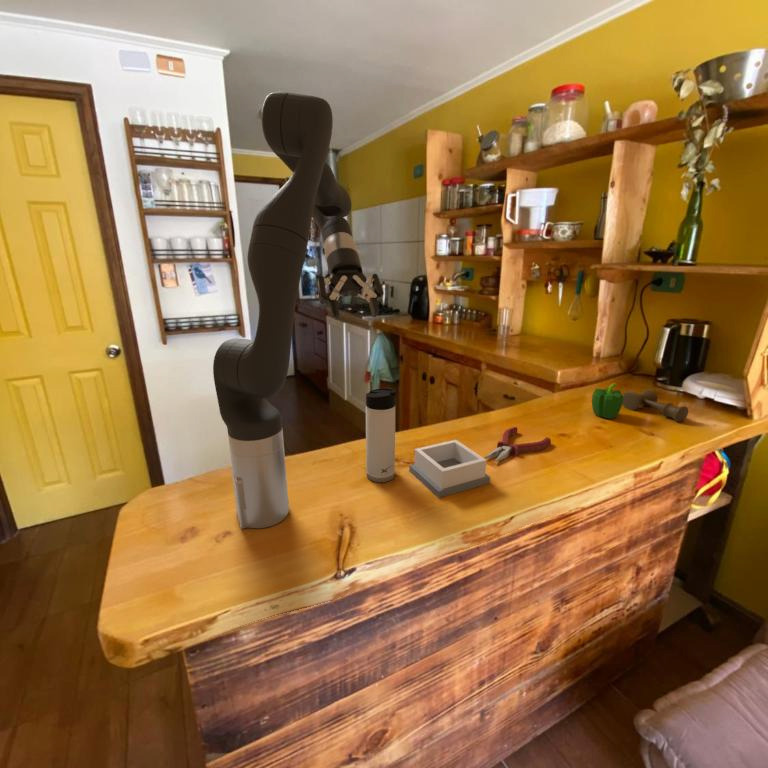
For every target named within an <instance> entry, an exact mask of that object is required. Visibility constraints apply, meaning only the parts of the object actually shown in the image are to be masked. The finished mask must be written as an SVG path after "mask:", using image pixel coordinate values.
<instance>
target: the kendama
mask: <svg viewBox="0 0 768 768" xmlns="http://www.w3.org/2000/svg"><path fill="white" fill-rule="evenodd" d="M621 393H622V395H623V398H624V399H623V404H622V407H624V408H625V409H627V410H630V411H636V410H637V409H638V408H639V407H640V405H643V406H645V407H650V408H651V407H652V408H654V409H655V410H658V411H659V412H660V413H661V415H662V416H663V417H670V418H672V419H673V420H674V421H675V422H676V423H682V422H684V421H685V420H686V418H687V417H688V414H689V408H688V406H683V405H682V406H678V405H675V404H674V403H673V402H668V403H664V402H659V401H658V399H659V398H658V397H659V396H658V393H656V391H654V390H652V389H644V390H643V391H641V393H639V394H638V393H636V392H635V391H633V390H632V391H631V390H629V391H625V392H624V391H623V392H621Z"/></svg>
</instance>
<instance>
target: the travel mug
mask: <svg viewBox="0 0 768 768" xmlns="http://www.w3.org/2000/svg"><path fill="white" fill-rule="evenodd" d="M397 395H398V390H397V389H393V388H391V387H390V388H389V387H385V388H384V387H382V388H375V389H372V390H369V391H368V393H366V394H365V449H366V451H365V454H366V455H365V457H366V458H365V459H366V462H365V464H366V466H365V467H366V470H365V471H366V477H367V479H369V480H370V481H372V482H375V483H387V482H389V481H392V480H393V478H394V477H395V475H396V474H395V473H396V396H397Z"/></svg>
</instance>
